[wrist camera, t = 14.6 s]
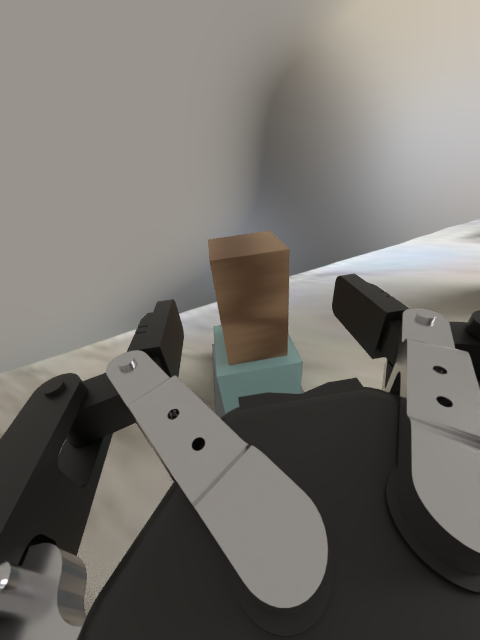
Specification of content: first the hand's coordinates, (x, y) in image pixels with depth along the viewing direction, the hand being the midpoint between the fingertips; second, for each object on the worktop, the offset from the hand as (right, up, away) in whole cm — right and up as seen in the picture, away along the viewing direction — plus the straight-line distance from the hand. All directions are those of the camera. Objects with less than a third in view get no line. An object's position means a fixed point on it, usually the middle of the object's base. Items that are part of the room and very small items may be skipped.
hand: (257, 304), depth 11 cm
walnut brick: (0, -3, +10) cm, 10 cm away
